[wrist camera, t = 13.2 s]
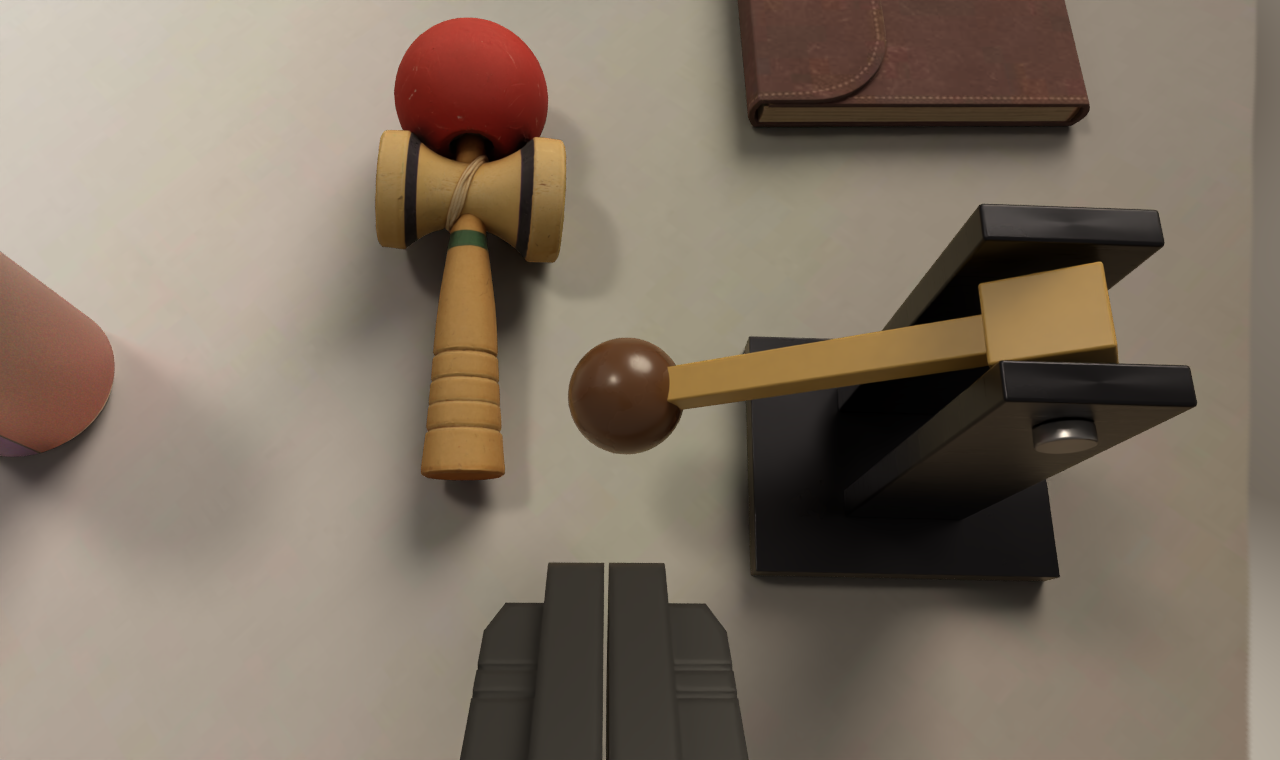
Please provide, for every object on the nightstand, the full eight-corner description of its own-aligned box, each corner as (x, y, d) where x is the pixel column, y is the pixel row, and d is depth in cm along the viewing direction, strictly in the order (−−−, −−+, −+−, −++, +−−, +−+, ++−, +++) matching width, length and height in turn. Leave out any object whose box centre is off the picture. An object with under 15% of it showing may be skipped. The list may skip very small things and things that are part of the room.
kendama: (593, 480, 35) (584, 61, 39) (557, 464, 29) (551, -33, 32) (403, 488, 36) (412, 78, 40) (329, 475, 30) (348, -9, 33)
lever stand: (750, 575, 33) (863, 486, 19) (744, 347, 36) (837, 125, 22) (1044, 581, 33) (1366, 498, 19) (1014, 355, 36) (1274, 142, 22)
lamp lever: (603, 471, 29) (542, 444, 26) (606, 368, 31) (548, 331, 28) (1125, 411, 23) (1122, 367, 20) (1102, 282, 24) (1096, 222, 21)
